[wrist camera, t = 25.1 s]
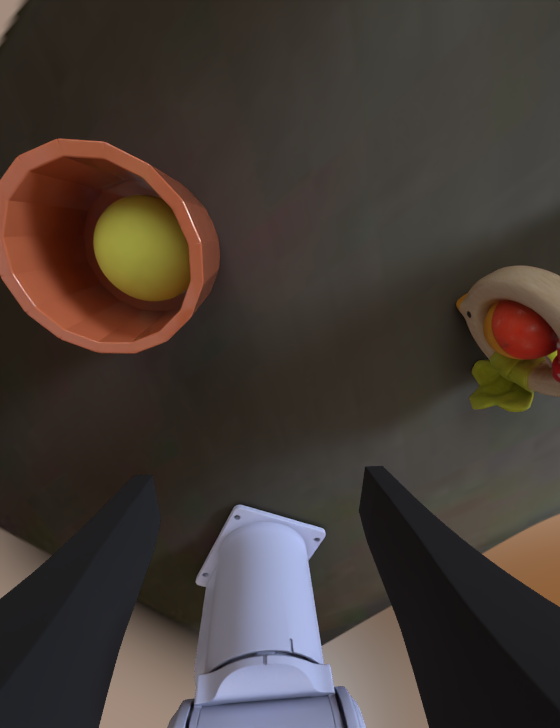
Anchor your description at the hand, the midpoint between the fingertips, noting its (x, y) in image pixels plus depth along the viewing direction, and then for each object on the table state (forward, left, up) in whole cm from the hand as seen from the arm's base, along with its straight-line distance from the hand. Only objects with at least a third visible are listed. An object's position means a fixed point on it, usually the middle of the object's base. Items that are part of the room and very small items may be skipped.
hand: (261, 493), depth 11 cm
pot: (+4, +8, -10) cm, 14 cm away
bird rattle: (+8, -12, -11) cm, 18 cm away
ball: (+5, +8, -8) cm, 12 cm away
